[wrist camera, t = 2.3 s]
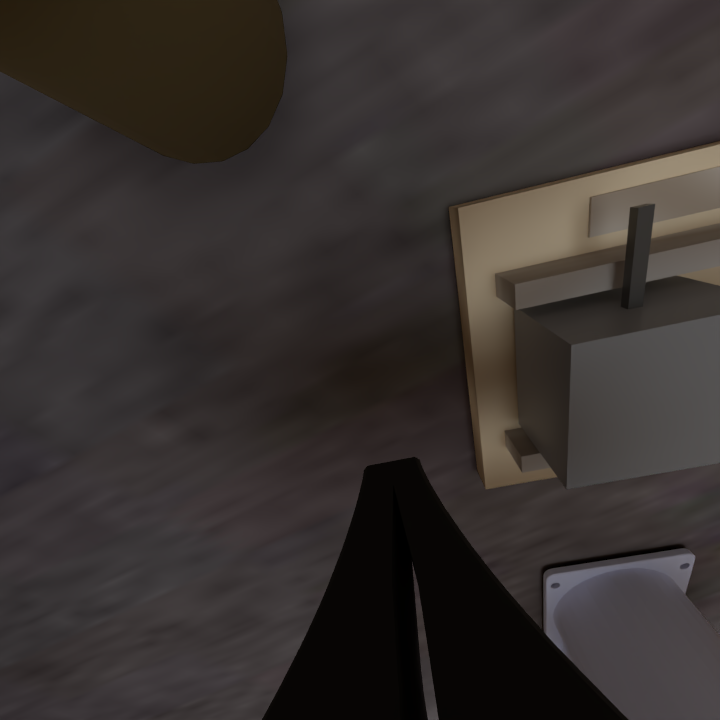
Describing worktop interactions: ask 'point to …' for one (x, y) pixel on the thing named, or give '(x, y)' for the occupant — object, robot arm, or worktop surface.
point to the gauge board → (566, 272)
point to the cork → (155, 67)
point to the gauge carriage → (623, 374)
